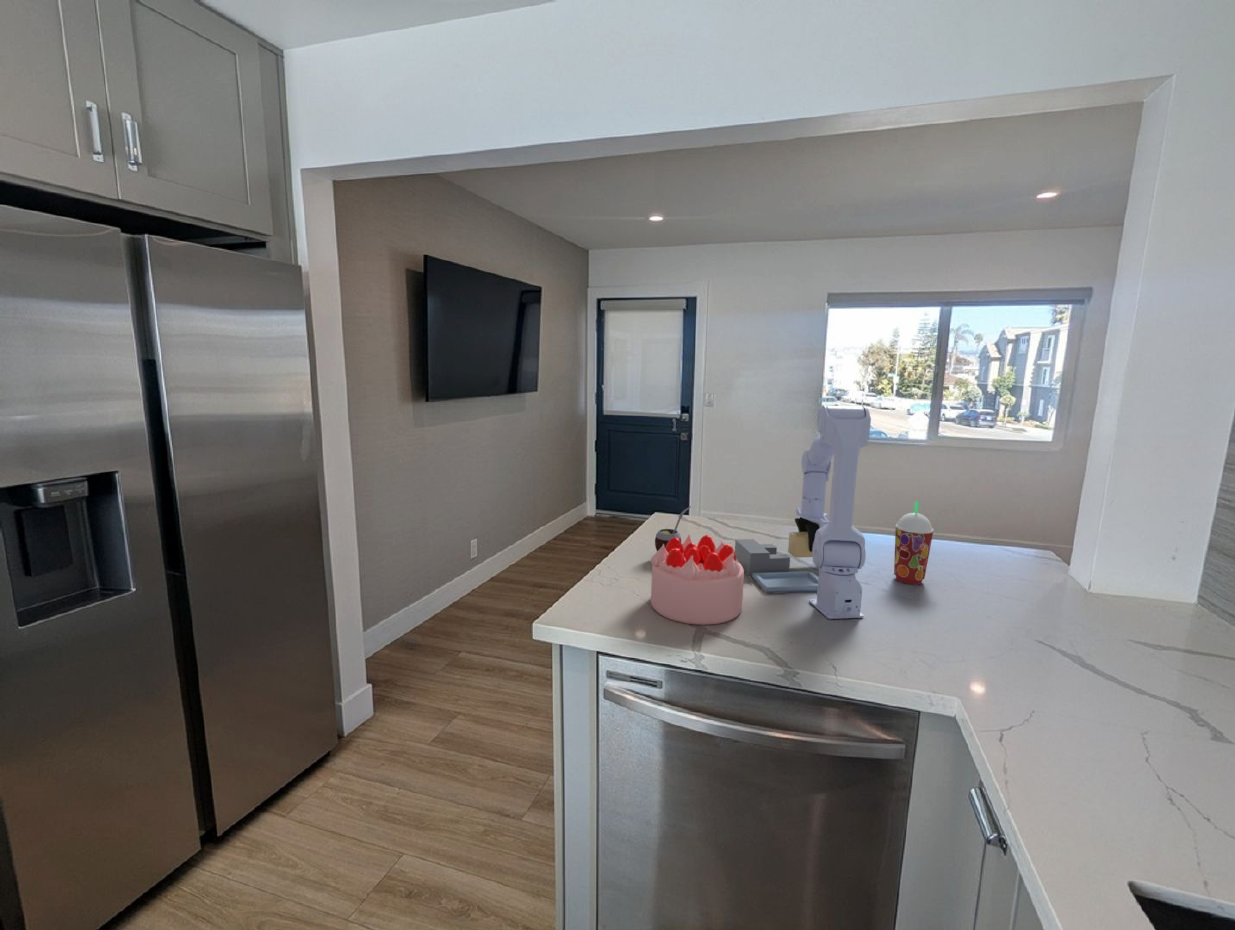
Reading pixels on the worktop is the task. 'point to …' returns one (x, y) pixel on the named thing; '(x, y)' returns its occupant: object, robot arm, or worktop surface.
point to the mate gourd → (667, 534)
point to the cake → (697, 582)
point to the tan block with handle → (799, 544)
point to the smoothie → (912, 547)
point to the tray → (787, 581)
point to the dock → (760, 557)
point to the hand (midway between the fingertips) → (809, 548)
